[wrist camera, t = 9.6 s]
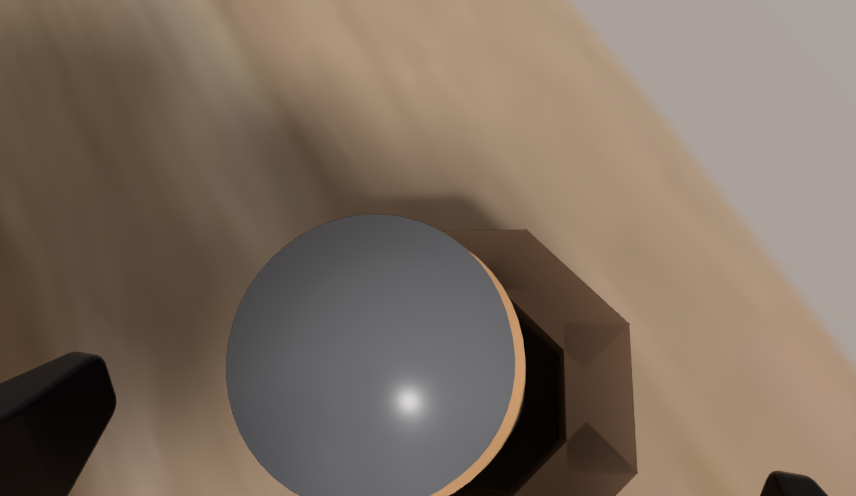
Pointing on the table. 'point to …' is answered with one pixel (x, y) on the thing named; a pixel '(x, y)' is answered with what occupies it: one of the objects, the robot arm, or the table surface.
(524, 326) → the bead
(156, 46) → the table surface
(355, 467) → the grey knob-topped cylinder
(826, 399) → the table surface
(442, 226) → the table surface
